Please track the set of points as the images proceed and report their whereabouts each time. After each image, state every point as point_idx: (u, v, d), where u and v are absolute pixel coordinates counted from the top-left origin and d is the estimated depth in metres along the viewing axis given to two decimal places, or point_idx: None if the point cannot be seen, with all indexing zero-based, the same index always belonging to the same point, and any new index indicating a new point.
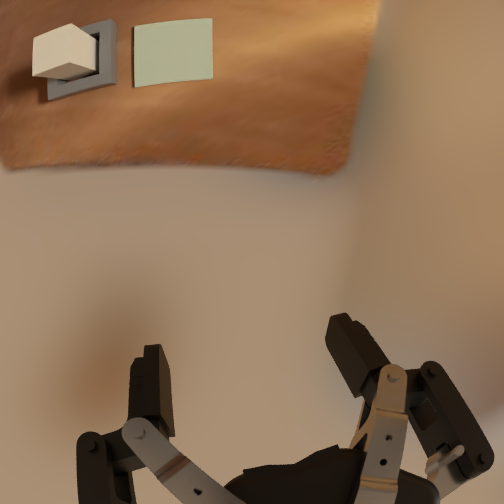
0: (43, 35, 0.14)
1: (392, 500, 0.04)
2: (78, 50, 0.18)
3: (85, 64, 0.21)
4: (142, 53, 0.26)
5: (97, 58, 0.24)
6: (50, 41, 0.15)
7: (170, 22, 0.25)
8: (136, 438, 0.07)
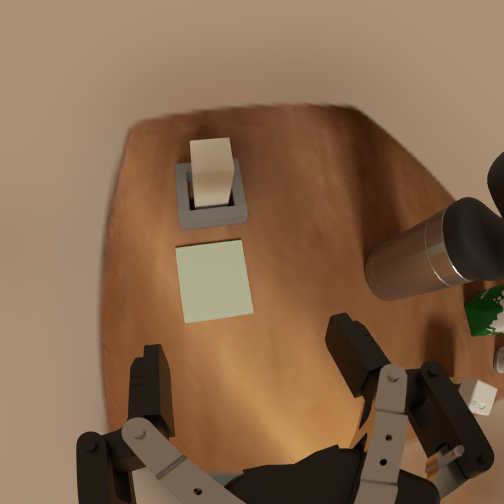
0: (228, 146, 0.30)
1: (392, 500, 0.04)
2: (208, 183, 0.31)
3: (197, 194, 0.33)
4: (210, 251, 0.37)
5: (208, 208, 0.38)
6: (219, 153, 0.29)
7: (245, 273, 0.37)
8: (136, 438, 0.07)
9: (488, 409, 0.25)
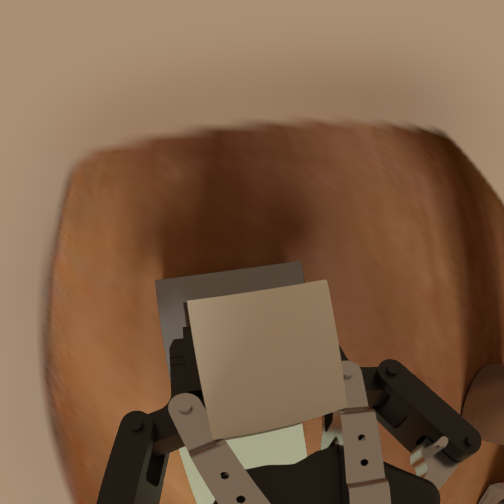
0: (328, 317, 0.09)
1: (387, 495, 0.04)
2: None
3: None
4: (245, 449, 0.16)
5: None
6: (301, 354, 0.08)
7: None
8: (184, 413, 0.08)
9: None
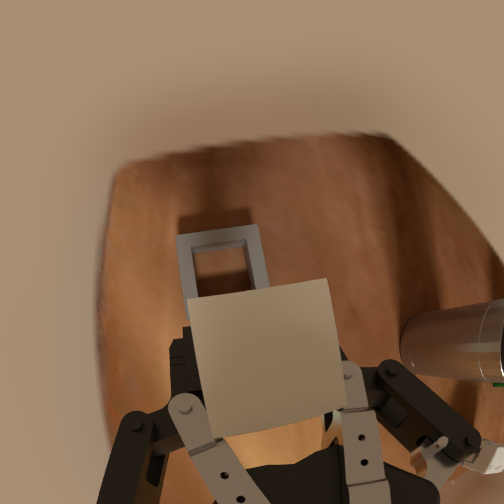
0: (328, 316, 0.09)
1: (387, 495, 0.04)
2: None
3: None
4: None
5: None
6: (301, 352, 0.08)
7: None
8: (184, 413, 0.08)
9: (503, 466, 0.18)
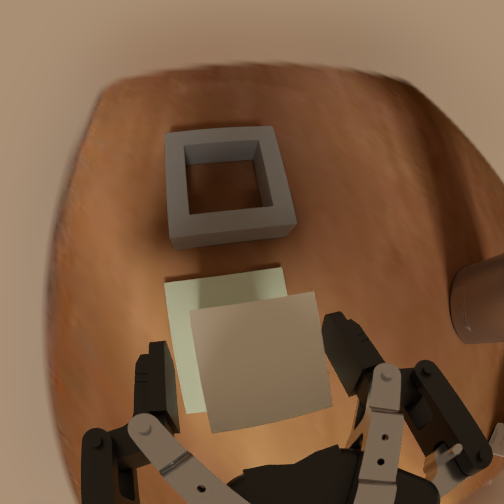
0: (315, 325, 0.10)
1: (392, 499, 0.04)
2: None
3: None
4: (228, 289, 0.21)
5: None
6: (290, 357, 0.09)
7: None
8: (142, 434, 0.07)
9: None
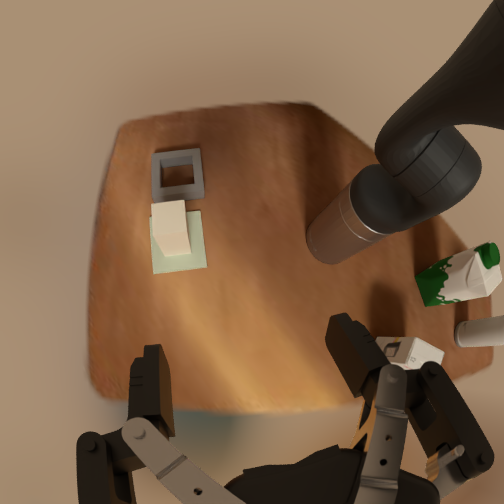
0: (183, 208, 0.36)
1: (392, 500, 0.04)
2: (168, 239, 0.37)
3: (161, 246, 0.39)
4: None
5: (174, 253, 0.44)
6: (175, 215, 0.36)
7: (202, 235, 0.47)
8: (136, 438, 0.07)
9: None
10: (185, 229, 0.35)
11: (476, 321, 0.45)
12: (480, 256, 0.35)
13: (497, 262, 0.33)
